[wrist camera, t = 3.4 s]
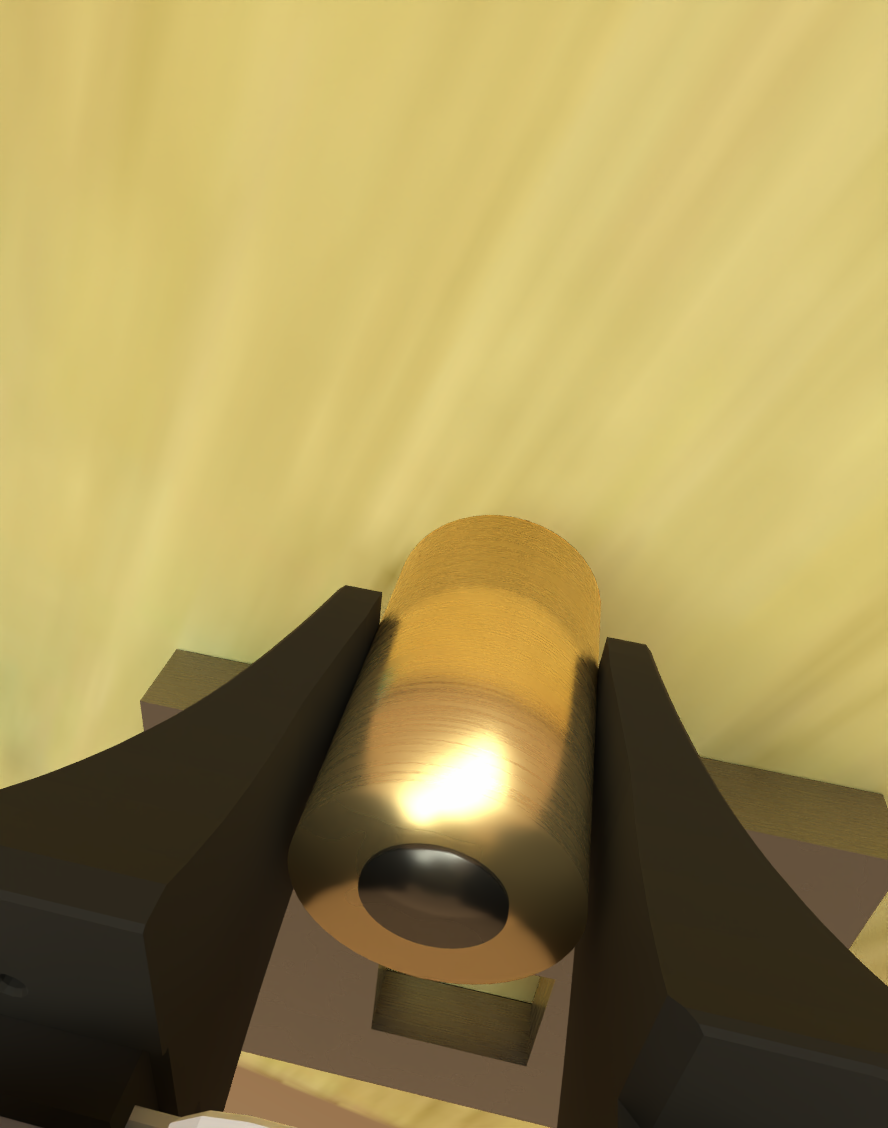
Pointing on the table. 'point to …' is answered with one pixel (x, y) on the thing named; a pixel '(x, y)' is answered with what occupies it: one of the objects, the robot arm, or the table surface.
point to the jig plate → (534, 1031)
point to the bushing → (464, 764)
